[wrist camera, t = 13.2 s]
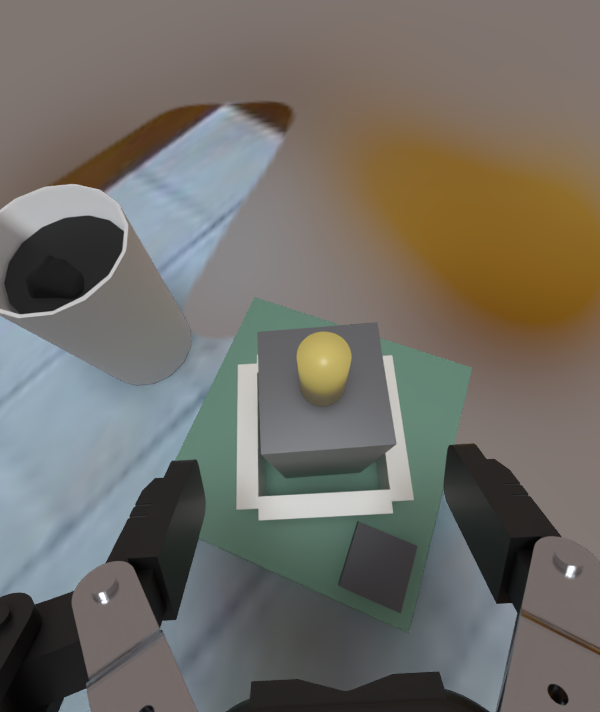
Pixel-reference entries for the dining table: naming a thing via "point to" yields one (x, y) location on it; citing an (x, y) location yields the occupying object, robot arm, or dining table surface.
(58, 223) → the grey cup
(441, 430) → the circuit board
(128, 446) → the dining table surface
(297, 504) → the socket
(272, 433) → the plug
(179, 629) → the dining table surface
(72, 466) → the dining table surface
